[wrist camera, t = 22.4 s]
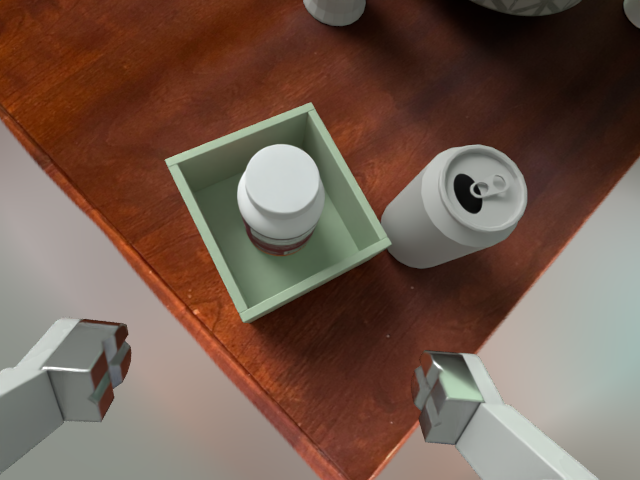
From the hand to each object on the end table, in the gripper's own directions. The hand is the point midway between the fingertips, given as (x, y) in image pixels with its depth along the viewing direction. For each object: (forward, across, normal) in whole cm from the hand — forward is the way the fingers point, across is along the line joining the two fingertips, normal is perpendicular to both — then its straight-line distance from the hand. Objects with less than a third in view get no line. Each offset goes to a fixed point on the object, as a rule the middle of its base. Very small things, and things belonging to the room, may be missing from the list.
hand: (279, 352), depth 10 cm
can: (+23, -12, +8) cm, 27 cm away
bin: (+22, +1, +8) cm, 24 cm away
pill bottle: (+22, +1, +8) cm, 23 cm away
